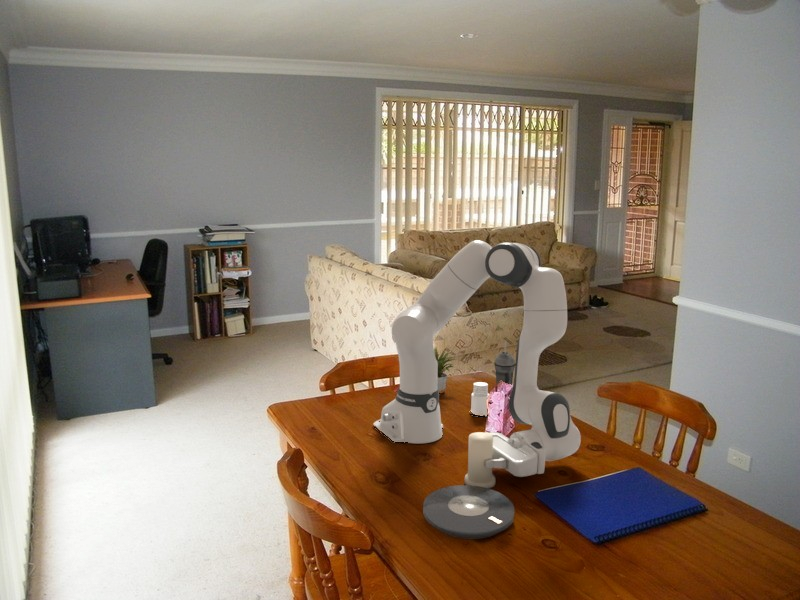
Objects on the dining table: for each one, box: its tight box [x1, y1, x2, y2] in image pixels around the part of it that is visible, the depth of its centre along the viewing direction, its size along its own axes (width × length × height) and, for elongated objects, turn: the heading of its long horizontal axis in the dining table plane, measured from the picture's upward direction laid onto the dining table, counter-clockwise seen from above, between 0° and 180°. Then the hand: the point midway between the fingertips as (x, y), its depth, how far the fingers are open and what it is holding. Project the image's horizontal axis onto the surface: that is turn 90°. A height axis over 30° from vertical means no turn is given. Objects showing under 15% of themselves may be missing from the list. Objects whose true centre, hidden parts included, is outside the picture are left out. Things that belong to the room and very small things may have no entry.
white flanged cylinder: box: [464, 431, 496, 489], centre depth 160 cm, size 8×8×12 cm
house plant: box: [434, 347, 459, 391], centre depth 228 cm, size 14×14×16 cm
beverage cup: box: [493, 340, 516, 386], centre depth 224 cm, size 7×7×20 cm
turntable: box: [422, 484, 515, 537], centre depth 143 cm, size 20×20×2 cm
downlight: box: [470, 381, 490, 417], centre depth 208 cm, size 8×7×10 cm
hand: (477, 458), depth 160 cm, fingers closed on white flanged cylinder, 6 cm apart
